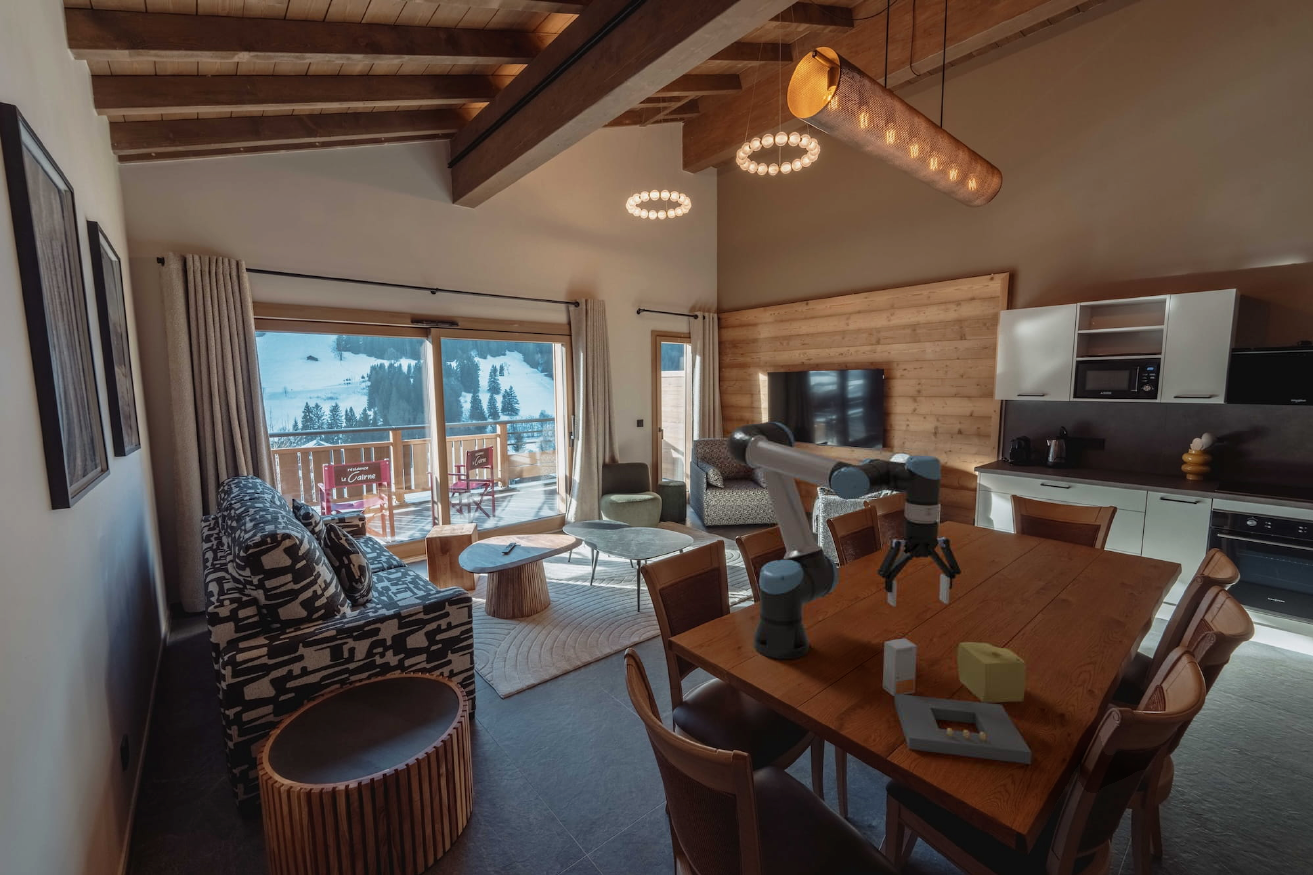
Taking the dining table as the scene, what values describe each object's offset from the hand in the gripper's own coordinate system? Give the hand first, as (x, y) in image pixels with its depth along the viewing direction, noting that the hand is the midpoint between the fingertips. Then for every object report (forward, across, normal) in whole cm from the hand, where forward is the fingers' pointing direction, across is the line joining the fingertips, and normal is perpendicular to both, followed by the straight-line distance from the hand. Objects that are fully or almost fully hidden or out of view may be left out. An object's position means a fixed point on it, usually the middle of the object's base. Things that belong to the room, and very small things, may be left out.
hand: (917, 602), depth 139 cm
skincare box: (+19, -8, -6) cm, 22 cm away
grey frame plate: (+19, -3, -22) cm, 29 cm away
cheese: (+19, +14, -9) cm, 25 cm away
